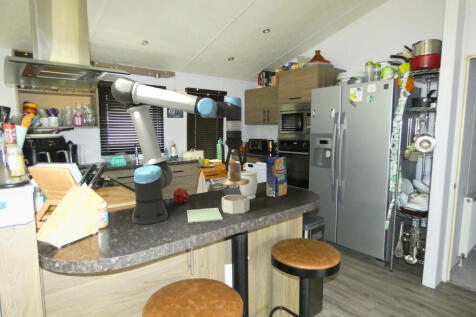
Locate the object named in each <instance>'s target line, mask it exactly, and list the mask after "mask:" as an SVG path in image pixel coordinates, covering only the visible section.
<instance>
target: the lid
mask: <svg viewBox="0 0 476 317" xmlns="http://www.w3.org/2000/svg"><path fill="white" fill-rule="evenodd" d="M239 164H240V163H229V164H228V165H230V179H228V177H227V178H221V179H220V180H219V184H220V185H224V186H231V187H233V186H235V187H237V186H239V185H246V184H248V183H249V180H248V179H244V178H240V165H239Z"/></svg>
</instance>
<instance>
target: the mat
mask: <svg viewBox="0 0 476 317" xmlns="http://www.w3.org/2000/svg"><path fill="white" fill-rule="evenodd" d="M186 212H187V213H186V215H187V223H188V224H194V223H193V222H195V223H202V222H203V223H206V222H215V221H216V222H217V221H223V220H224V218H223V216H222V215H221V212H220V210H219V208H218V207H212V208H211V207H210V208H200V209H198V208H197V209H187V210H186Z"/></svg>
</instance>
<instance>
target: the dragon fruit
mask: <svg viewBox="0 0 476 317" xmlns="http://www.w3.org/2000/svg"><path fill="white" fill-rule="evenodd" d="M172 194H173V196H172V197H173V201H174V202H175V203H176V202H177V203H178V204H179V205H181V204H183V203H186V202H187V201H188V200H191V196H190V195H189V193H188V190H187V189H185V188H183V187H178V188H176V190H174V192H173V193H172Z"/></svg>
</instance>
